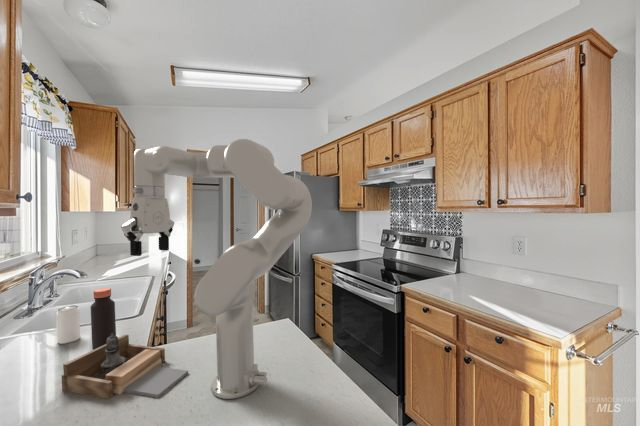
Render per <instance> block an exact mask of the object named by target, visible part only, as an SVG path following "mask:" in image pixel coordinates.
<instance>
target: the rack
mask: <svg viewBox="0 0 640 426" xmlns="http://www.w3.org/2000/svg"><path fill="white" fill-rule="evenodd" d="M129 338H130V335H129V334H123V335H121V336H119V337H118V345H119V346H120V348H119V355H120V356H122V357H125V359H131V358H133V357H135V356H136V355H138V354H139V353H141V352H142V351H144V350H145V349H150V350H160V355H161V358H160V359H161V361H162V363H165V361H166V355H165V354H166V352H165V351H166V350H165V348H163V347H157V346H156V347H155V346H148V345H142V344H141V345H140V344H132V343H129V342H130V341H129V340H130V339H129ZM106 349H107V346H106V344H105V345H103V346H101V347H98V348H96V349H94V350H93V349H92V350H90V351H87V352H86V353H84V354H82V355H80V356H78V357H76V358H73V359H72V360H70V361H68V362H66V363H63V364H62V366H63V374H61V390H62V391H66V392H72V393H77V394H81V395H86V396H90V397H91V396H92V397H96V398H102V399H107V400H110V399H111V398H113V397H114V395H113V394H114V393H113V391H112V381H109V380H105V379H103V378H97V377H96V378H95V376H97V375H98V374H101V373H102V372H104V371H103V369H102V367H101V363H102V362H104V361H105V360H106V358H107V354H106V352H105V350H106Z"/></svg>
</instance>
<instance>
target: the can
mask: <svg viewBox="0 0 640 426" xmlns="http://www.w3.org/2000/svg"><path fill="white" fill-rule="evenodd" d="M78 307H79V306H78V305H66V306H63V307H61V308H60V307H59V308H58V309H57V312H56V314H55V315H56V316H55V317H56V320H55V321H56V339H57V343H58V344H59V345H64V344H70V343H74V342H76V341H78V340H79V339H80V338H81V317H80V309H79V308H78Z"/></svg>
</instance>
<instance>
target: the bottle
mask: <svg viewBox="0 0 640 426" xmlns="http://www.w3.org/2000/svg"><path fill="white" fill-rule="evenodd" d="M111 297H112V288H110V287H103V288H102V287H101V288H98V289H95V290H93V300H94V302H93V303H91V305H90V322H91V323H90V328H91V349H92V350H94V349H96V348H98V347H101V346H103V345H105V344H106V340H107V338H108V337H110V336H111V334H112V333H113V335H114V336H117V326H116V325H117V324H116V321H117V320H116V302H115V301H114V300H113V299H112V298H111Z"/></svg>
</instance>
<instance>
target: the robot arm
mask: <svg viewBox="0 0 640 426" xmlns="http://www.w3.org/2000/svg"><path fill="white" fill-rule="evenodd" d="M133 173H134V174H133V177H134V178H133V181H134V188H132V193H133V194H134V197H133V198H132V201H131V208H130V218H129V220H128V221H127V222H125V223H123V224H122V225H121V226H120V228H121V230H122V232H123V235H124V236H125V238H126V239H127V241H128V242H129V245H130V246H129V247H130V256H132V257H133V256H134V257H140V256H142V253H143V252H142V248H143V247H142V244H143V243H142V240H141V238H142V237H143V235H144V234H145V235H146V234H148V235H149V234H155V233H157V234H158V235H159V236H158V250H159V251H169V250H170V241H169V240H170V237H171V233H172V232H173V230H174V229H173V228H174V226H175V221H173V220H171V215H170V206H169V201H168V198H166V189H165V188H166V186H165V185H166V184H165V183H166V182H165V180H166V179H165V175H168V176H175V177H176V176H177V177H184V178H215V179H217V178H220V179H221V178H223V179H224V178H225V179H227V178H229V179H230V178H232V179H233V178H234V179H236V180H237V181H238V182H239V183H240V184H241V185H242V186H243V187H244V188H245V190H247V192H249V193H250V194H251V196H253V198H254V199H255V200H256V201H258V202H259V204H260V205H261V206H263V207H265V208H267V209H269V210H272V211H276V212H275V213H274V214H273V215H272V216H271V217H270V218H269V219H268V220H267V221H266V222H265V223H264V225H263V226H262V227H261V228H260V229H259V230H258V232H256V234H255V235H254V236H253V237H252V238H250V239H248V240H245V241H240V242H238V243H235V244H233V245H231V246H230V247H229V248H227V249H225V251H224V252H223V253H221V255H220V256H219V257H218V258H217V260H216V261H215V262H214V264H212V265H211V267H210V268H209V270H207V272H206V273H205V274H204V275H203V276H202V278H201V279H200V280H199V282H198V283H197V285H196V287H195V290H194V295H193V297H194V304H195V306H196V308H197V310H198V311H199V312H200V313H201V314H203V315H205V316H209V317H210V316H211V317H212V316H214V317H216V318H215V332H216V333H215V337H216V339H215V340H216V360H217V361H216V366H217V367H216V371H217V376H216V377H215V378H213V380H212V382H211V393H212V394H213V395H214V396H215V397H218V398H219V399H224V400H225V399H226V400H231V399H233V400H234V399H238V398H239V399H240V398H241V397H242V398H243V397H245V396H247V395H249V394H251V393H253V392H254V391H255V390H256V389H257V388H258V387H259V385H260V386H266V385H267V383H268V377H267V374H268V373H267V372H266V371H259V369H258V367H259V364H257V363H255V351H254V349H255V347H254V344H255V343H254V304H255V303H254V301H255V294H256V281H255V280H257V279H259V278H260V277H263V276H264V275H266V274H267V273H268V272H270V271H271V269H272V268H273V266H274V265H275V264H276V263H277V262H278V261H279V259H280V258H281V257H282V256H283V254H284V253H286V251H287V250H288V249H289V247H290V246H291V245H292V244H293V243H294V242H295V241H296V239H298V237H299V236H300V234H301V233H302V232H303V231H304V230H305V228H306V226H307V224H308V222H309V220H310V218H311V214H312V211H313V203H312V202H313V201H312V196H311V193H310V191H309V189H308V187H307V184H305V182H303V180H301V179H299V178H297V177H295V176H293V175H289V174H284V173H282V172H281V171H280V170H279V169H278V168H277V166H275V158H274V155H273V153H272V151H271V150H270V149H268V147H266V146H264V145H262V144H260V143H258V142H256V141H253V140H251V139H247V138H238V139H236V140H233V141H232V142H230V143H229V144H225V145H223V144H221V145H220V144H217V145H212V146H211V147H210V149H208V152H191V151H188V150H187V151H186V150H183V149H180V148H175V147H171V146H166V145H163V146H162V145H161V146H156V147H152V148H138V149H135V151H134V153H133Z"/></svg>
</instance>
